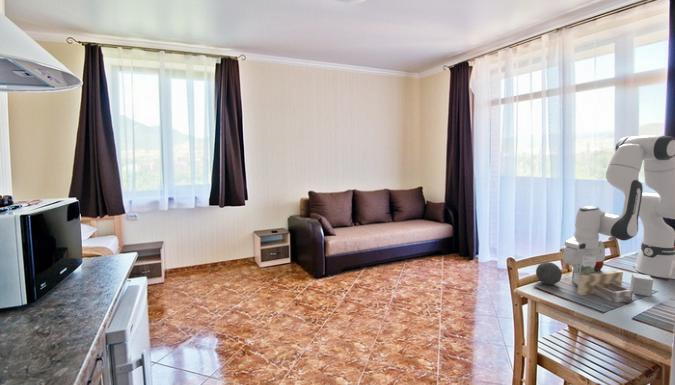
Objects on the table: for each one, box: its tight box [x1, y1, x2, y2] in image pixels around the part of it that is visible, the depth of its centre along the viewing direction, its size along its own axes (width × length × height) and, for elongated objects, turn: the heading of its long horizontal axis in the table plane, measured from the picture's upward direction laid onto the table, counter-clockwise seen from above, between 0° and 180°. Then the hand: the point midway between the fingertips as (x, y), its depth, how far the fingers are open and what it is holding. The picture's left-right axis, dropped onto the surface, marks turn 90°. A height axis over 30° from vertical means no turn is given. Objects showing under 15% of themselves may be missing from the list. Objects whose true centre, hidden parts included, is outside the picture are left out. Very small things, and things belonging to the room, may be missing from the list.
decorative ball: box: [535, 261, 562, 286], centre depth 156 cm, size 10×10×10 cm
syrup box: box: [571, 254, 596, 286], centre depth 155 cm, size 6×6×14 cm
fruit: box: [594, 260, 605, 272], centre depth 173 cm, size 8×8×8 cm
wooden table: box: [577, 269, 633, 304], centre depth 143 cm, size 22×11×8 cm, turn 105°
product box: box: [629, 272, 654, 297], centre depth 146 cm, size 6×6×7 cm
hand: (583, 271), depth 155 cm, fingers closed on syrup box, 7 cm apart
